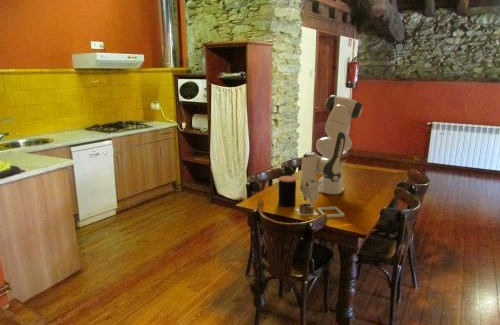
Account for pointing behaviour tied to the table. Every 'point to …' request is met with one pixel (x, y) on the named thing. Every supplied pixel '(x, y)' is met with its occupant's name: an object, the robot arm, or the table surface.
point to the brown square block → (306, 208)
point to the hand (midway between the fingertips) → (308, 203)
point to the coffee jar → (287, 191)
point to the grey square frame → (331, 214)
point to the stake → (306, 214)
